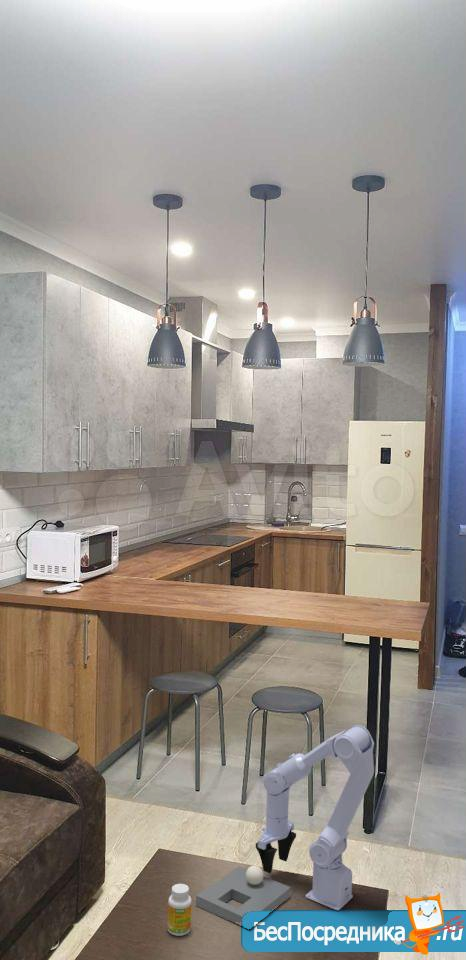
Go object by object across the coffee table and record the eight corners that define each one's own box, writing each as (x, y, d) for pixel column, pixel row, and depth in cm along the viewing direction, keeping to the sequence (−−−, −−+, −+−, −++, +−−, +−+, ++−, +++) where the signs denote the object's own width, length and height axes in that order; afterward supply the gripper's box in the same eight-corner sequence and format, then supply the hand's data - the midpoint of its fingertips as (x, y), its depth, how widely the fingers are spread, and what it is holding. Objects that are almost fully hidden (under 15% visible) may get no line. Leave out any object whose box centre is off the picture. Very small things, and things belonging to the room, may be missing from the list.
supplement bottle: (172, 938, 176) (174, 896, 176) (163, 926, 181) (165, 884, 181) (194, 933, 179) (195, 891, 179) (184, 920, 184) (186, 879, 183)
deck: (290, 897, 195) (290, 887, 195) (249, 930, 180) (249, 920, 180) (238, 875, 204) (238, 866, 204) (195, 905, 190) (196, 895, 190)
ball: (266, 883, 197) (267, 865, 196) (256, 890, 193) (257, 873, 193) (252, 877, 199) (252, 860, 199) (242, 884, 196) (242, 867, 195)
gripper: (279, 800, 212) (277, 850, 212) (248, 819, 200) (247, 871, 200) (301, 808, 208) (299, 858, 208) (271, 827, 196) (269, 881, 196)
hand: (275, 865), depth 204 cm, fingers open, 7 cm apart
